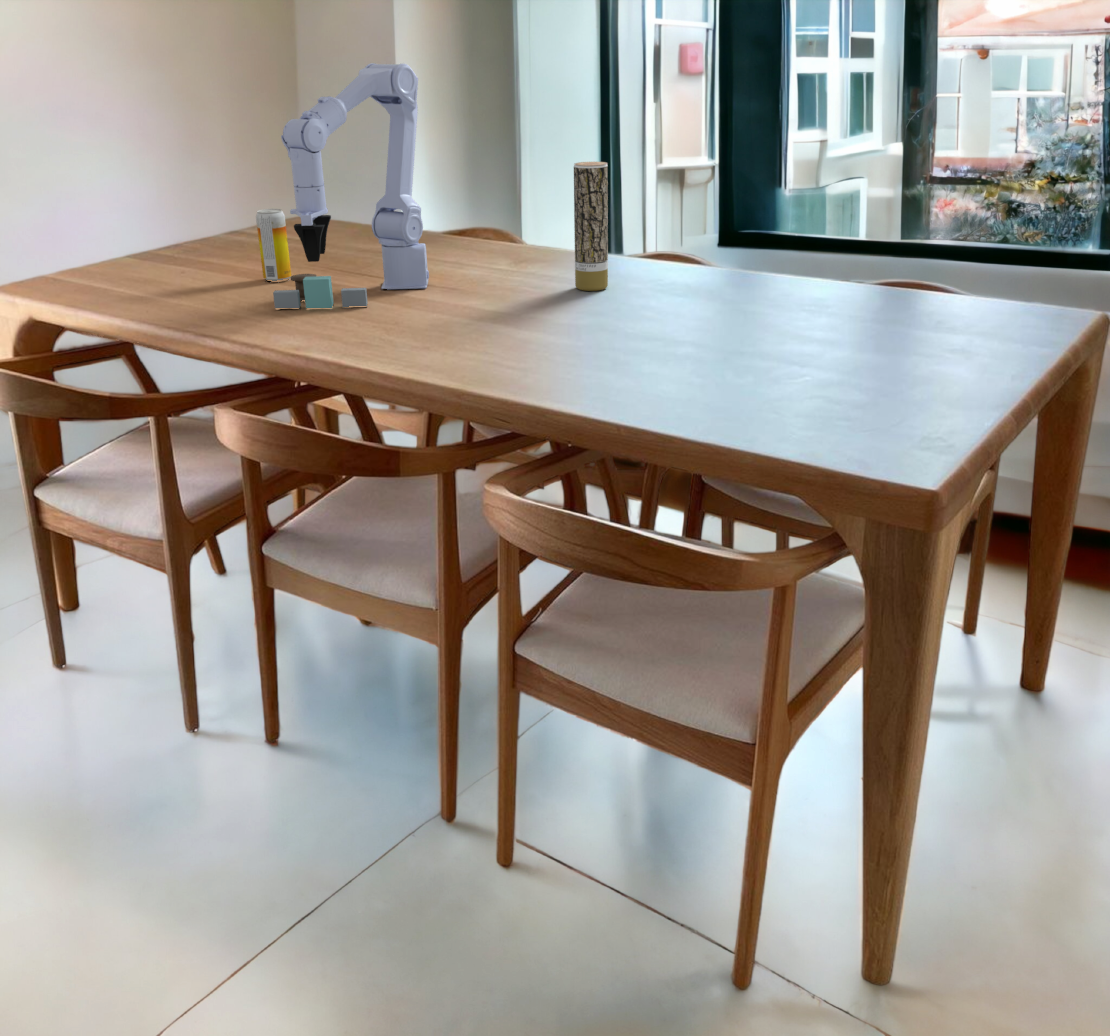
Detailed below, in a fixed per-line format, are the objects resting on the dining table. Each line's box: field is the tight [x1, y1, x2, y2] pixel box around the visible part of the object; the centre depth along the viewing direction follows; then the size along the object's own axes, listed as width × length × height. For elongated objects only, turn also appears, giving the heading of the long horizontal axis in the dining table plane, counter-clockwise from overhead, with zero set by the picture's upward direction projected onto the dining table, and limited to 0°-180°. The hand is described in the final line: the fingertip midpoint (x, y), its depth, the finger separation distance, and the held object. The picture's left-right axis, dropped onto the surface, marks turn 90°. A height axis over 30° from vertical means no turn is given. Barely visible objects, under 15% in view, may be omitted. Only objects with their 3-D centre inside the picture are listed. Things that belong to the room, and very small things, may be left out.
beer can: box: [255, 208, 292, 281], centre depth 249 cm, size 6×6×15 cm
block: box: [303, 275, 335, 309], centre depth 225 cm, size 5×3×6 cm, turn 92°
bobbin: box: [289, 273, 317, 301], centre depth 234 cm, size 7×7×4 cm
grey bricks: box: [272, 287, 369, 309], centre depth 226 cm, size 18×2×4 cm, turn 93°
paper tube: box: [573, 161, 609, 292], centre depth 233 cm, size 7×7×25 cm
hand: (316, 257), depth 223 cm, fingers open, 7 cm apart
